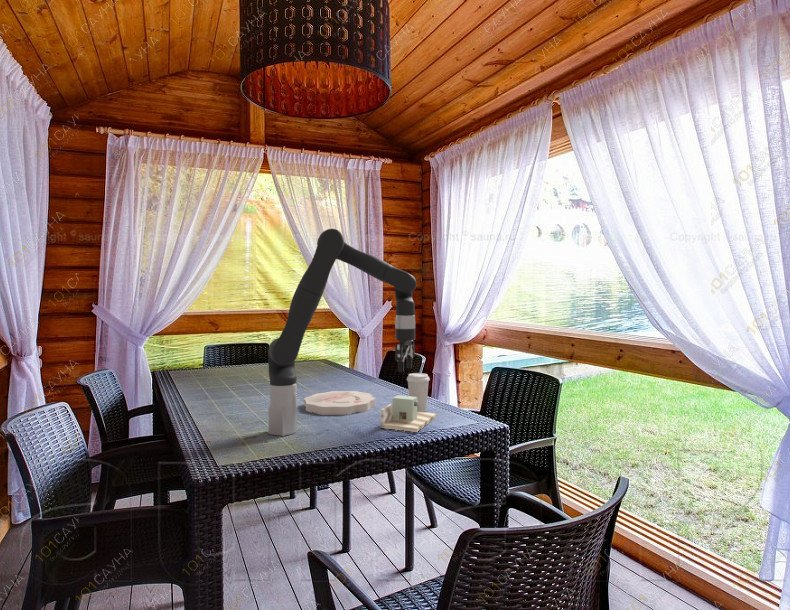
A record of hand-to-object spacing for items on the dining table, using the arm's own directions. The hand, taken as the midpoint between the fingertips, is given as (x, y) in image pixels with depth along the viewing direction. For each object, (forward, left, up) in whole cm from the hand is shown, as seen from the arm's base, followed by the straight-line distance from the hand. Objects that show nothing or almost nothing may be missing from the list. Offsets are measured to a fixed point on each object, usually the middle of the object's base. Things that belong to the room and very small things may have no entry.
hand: (405, 370), depth 185 cm
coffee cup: (+18, +1, -20) cm, 27 cm away
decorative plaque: (+13, +35, -20) cm, 43 cm away
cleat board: (0, -2, -20) cm, 20 cm away
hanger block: (0, 0, -18) cm, 18 cm away
